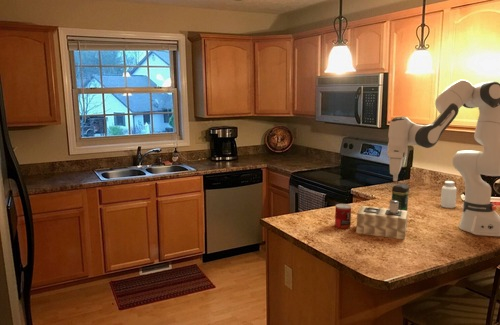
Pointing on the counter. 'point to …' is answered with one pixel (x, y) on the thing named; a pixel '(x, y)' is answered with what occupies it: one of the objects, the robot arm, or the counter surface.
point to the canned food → (343, 216)
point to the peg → (393, 207)
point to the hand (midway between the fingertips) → (395, 180)
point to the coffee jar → (401, 195)
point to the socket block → (381, 222)
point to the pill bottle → (448, 195)
